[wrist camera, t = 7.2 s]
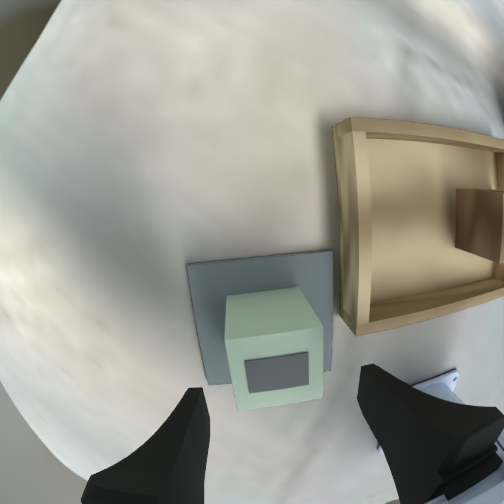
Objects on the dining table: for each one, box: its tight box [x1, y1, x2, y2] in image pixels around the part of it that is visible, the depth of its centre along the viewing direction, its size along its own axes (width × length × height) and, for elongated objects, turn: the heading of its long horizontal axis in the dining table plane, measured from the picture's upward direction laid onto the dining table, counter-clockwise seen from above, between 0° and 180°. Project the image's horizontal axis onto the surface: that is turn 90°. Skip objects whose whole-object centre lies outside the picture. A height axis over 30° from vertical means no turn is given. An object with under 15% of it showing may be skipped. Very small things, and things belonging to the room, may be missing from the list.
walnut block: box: [455, 189, 504, 264], centre depth 16 cm, size 4×5×5 cm
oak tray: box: [332, 117, 504, 336], centre depth 17 cm, size 13×17×3 cm
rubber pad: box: [187, 250, 333, 385], centre depth 19 cm, size 9×9×1 cm
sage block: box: [224, 287, 323, 411], centre depth 16 cm, size 4×4×6 cm
